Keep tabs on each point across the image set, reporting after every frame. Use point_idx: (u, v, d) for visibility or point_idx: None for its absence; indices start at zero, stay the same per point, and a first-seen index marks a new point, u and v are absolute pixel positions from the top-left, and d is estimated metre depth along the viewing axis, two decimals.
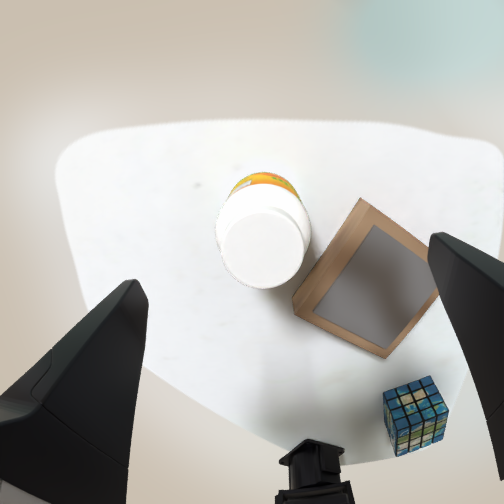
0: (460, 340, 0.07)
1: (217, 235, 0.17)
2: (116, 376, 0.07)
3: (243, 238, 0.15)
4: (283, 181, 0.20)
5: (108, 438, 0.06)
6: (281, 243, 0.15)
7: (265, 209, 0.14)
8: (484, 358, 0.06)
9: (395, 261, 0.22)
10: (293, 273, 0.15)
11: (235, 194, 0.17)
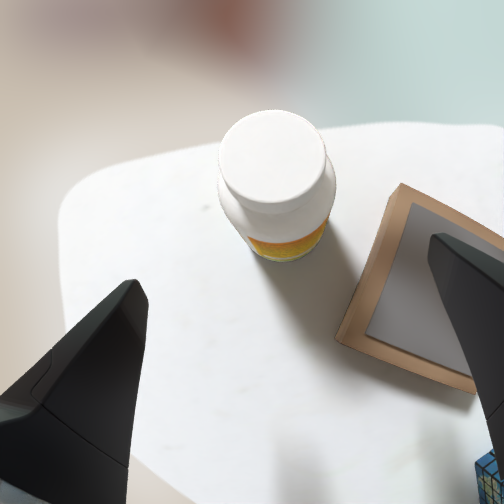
0: (460, 340, 0.07)
1: (219, 185, 0.14)
2: (116, 376, 0.07)
3: (246, 140, 0.11)
4: None
5: (108, 438, 0.06)
6: (294, 139, 0.11)
7: None
8: (484, 358, 0.06)
9: None
10: (318, 175, 0.11)
11: None
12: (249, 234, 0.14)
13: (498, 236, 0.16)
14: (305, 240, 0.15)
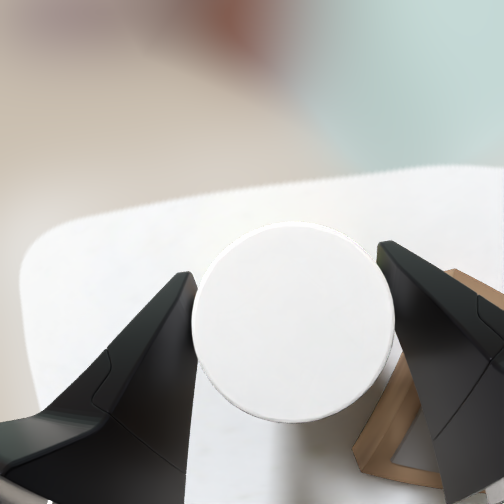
0: (405, 355, 0.07)
1: None
2: (177, 375, 0.07)
3: (243, 296, 0.06)
4: None
5: (170, 444, 0.06)
6: (338, 296, 0.06)
7: (288, 222, 0.06)
8: (426, 377, 0.06)
9: None
10: (378, 371, 0.05)
11: None
12: None
13: None
14: None
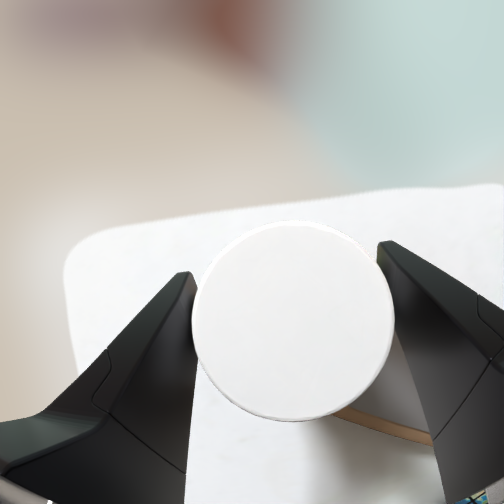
0: (405, 355, 0.07)
1: None
2: (177, 375, 0.07)
3: (243, 294, 0.06)
4: None
5: (170, 444, 0.06)
6: (338, 295, 0.06)
7: (288, 221, 0.06)
8: (426, 377, 0.06)
9: None
10: (377, 369, 0.05)
11: None
12: None
13: None
14: None
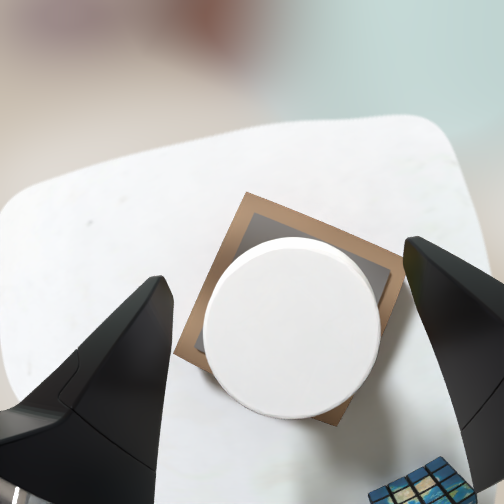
0: (434, 348, 0.07)
1: None
2: (145, 376, 0.07)
3: (248, 309, 0.07)
4: None
5: (137, 441, 0.06)
6: (331, 310, 0.07)
7: (288, 244, 0.07)
8: (457, 368, 0.06)
9: None
10: (365, 375, 0.06)
11: (237, 258, 0.10)
12: None
13: (374, 246, 0.16)
14: None
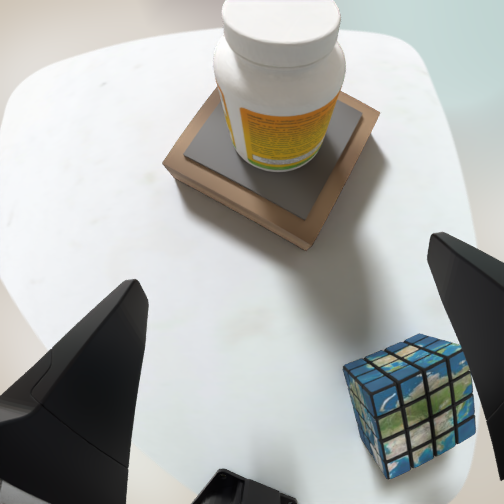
0: (460, 340, 0.07)
1: (216, 52, 0.11)
2: (116, 376, 0.07)
3: None
4: None
5: (108, 438, 0.06)
6: (307, 1, 0.08)
7: None
8: (484, 358, 0.06)
9: None
10: (331, 29, 0.08)
11: None
12: (243, 101, 0.11)
13: (349, 96, 0.18)
14: (305, 125, 0.12)
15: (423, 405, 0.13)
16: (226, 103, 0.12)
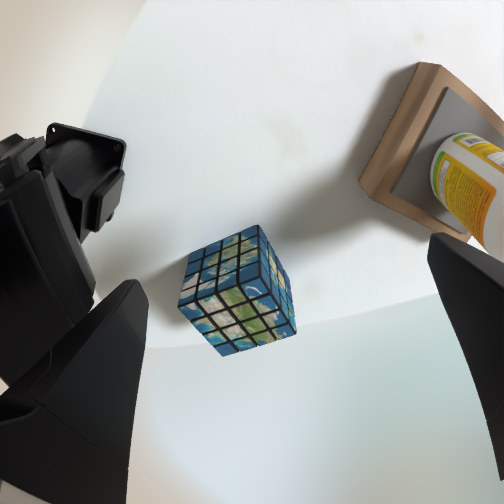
0: (460, 340, 0.07)
1: None
2: (116, 376, 0.07)
3: None
4: None
5: (108, 438, 0.06)
6: None
7: None
8: (484, 358, 0.06)
9: None
10: None
11: None
12: (501, 198, 0.11)
13: None
14: (473, 227, 0.13)
15: (250, 315, 0.20)
16: (499, 172, 0.11)
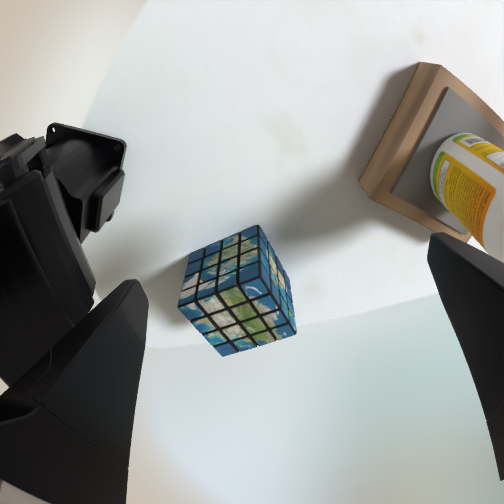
0: (460, 340, 0.07)
1: None
2: (116, 376, 0.07)
3: None
4: None
5: (108, 438, 0.06)
6: None
7: None
8: (484, 358, 0.06)
9: None
10: None
11: None
12: (501, 198, 0.11)
13: None
14: (473, 227, 0.13)
15: (250, 315, 0.20)
16: (499, 172, 0.11)
